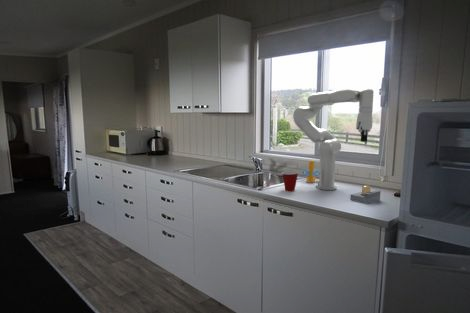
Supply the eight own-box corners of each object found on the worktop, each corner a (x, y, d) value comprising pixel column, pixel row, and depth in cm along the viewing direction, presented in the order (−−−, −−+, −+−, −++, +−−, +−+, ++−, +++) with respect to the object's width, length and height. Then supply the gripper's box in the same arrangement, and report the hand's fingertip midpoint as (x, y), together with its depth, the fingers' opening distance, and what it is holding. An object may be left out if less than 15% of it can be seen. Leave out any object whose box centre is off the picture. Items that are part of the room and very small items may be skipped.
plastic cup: (288, 187, 214) (288, 169, 213) (301, 190, 206) (302, 172, 205) (277, 190, 207) (277, 171, 205) (291, 193, 199) (291, 174, 198)
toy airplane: (301, 182, 231) (301, 161, 229) (303, 179, 240) (303, 159, 239) (318, 183, 227) (319, 162, 225) (320, 180, 236) (321, 160, 234)
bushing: (360, 200, 184) (360, 186, 183) (364, 198, 187) (364, 185, 186) (367, 201, 181) (367, 187, 180) (371, 200, 183) (372, 186, 182)
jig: (350, 199, 185) (350, 190, 184) (362, 196, 192) (362, 187, 191) (368, 203, 176) (368, 194, 176) (380, 200, 183) (380, 191, 183)
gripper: (367, 110, 199) (365, 140, 201) (352, 110, 190) (350, 141, 193) (378, 110, 193) (376, 141, 195) (364, 110, 184) (362, 142, 187)
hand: (363, 141), depth 194 cm, fingers closed
